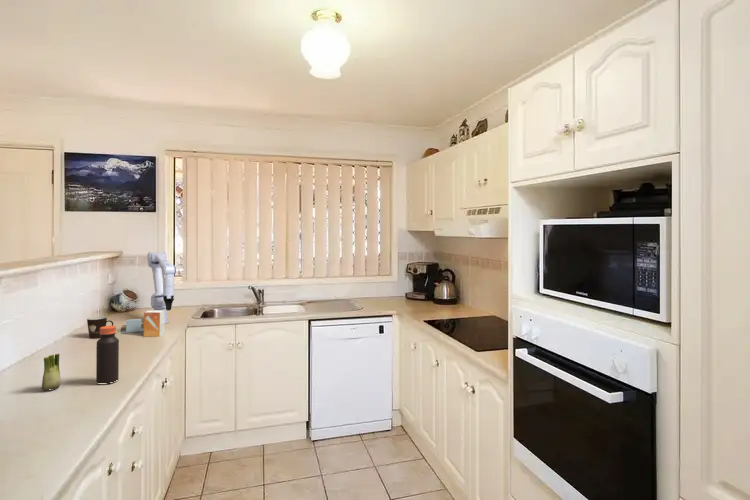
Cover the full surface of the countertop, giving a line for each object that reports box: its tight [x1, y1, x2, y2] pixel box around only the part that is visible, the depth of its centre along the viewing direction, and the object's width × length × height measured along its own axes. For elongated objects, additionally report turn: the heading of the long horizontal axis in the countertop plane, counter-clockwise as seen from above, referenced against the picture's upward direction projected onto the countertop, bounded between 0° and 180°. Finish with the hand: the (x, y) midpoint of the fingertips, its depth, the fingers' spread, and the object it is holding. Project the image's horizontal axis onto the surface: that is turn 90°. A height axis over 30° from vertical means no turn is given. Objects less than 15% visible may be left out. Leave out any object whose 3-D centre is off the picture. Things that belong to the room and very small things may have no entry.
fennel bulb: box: [41, 352, 62, 391], centre depth 139 cm, size 6×5×12 cm
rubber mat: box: [121, 328, 144, 335], centre depth 223 cm, size 8×11×1 cm
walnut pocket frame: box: [121, 323, 144, 331], centre depth 231 cm, size 9×12×1 cm
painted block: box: [125, 318, 142, 332], centre depth 223 cm, size 4×7×6 cm, turn 118°
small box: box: [143, 309, 165, 338], centre depth 215 cm, size 8×6×13 cm
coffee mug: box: [86, 315, 114, 340], centre depth 208 cm, size 12×9×10 cm
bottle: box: [95, 325, 120, 384], centre depth 147 cm, size 7×7×20 cm
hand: (168, 309), depth 235 cm, fingers open, 7 cm apart
